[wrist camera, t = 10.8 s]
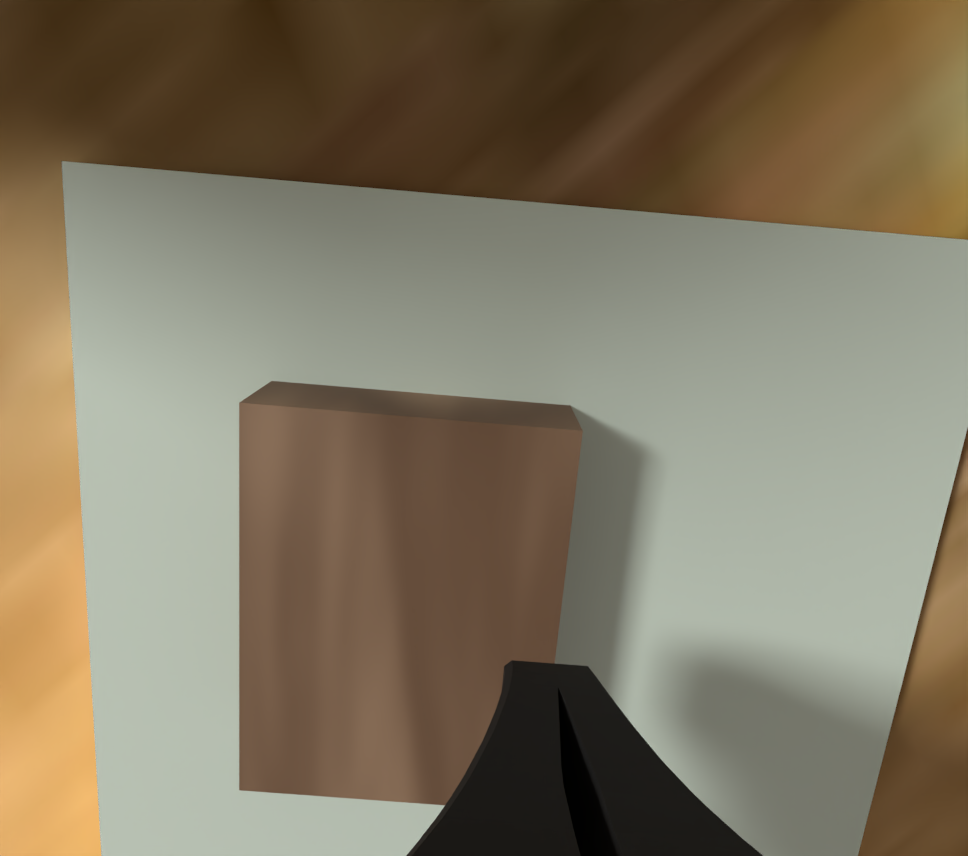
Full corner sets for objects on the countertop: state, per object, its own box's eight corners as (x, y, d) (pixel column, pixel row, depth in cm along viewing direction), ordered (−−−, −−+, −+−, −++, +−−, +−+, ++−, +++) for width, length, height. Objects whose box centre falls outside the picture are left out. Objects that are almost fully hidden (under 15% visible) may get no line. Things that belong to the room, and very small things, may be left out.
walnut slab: (582, 430, 13) (238, 402, 13) (536, 812, 15) (239, 790, 15) (569, 405, 15) (271, 380, 15) (530, 745, 17) (268, 726, 17)
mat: (817, 960, 19) (825, 979, 19) (115, 911, 19) (105, 929, 18) (997, 243, 15) (1014, 243, 14) (75, 163, 14) (61, 161, 14)
